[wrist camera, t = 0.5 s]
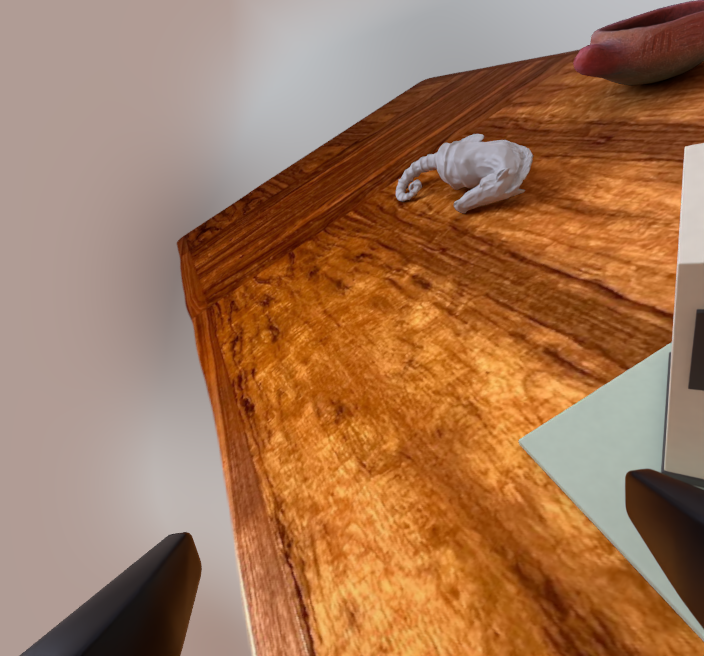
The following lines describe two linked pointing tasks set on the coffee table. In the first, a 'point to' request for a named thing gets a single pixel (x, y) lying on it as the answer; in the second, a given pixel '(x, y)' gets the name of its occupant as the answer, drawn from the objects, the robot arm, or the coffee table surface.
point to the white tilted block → (687, 336)
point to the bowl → (646, 46)
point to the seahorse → (473, 170)
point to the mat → (612, 459)
